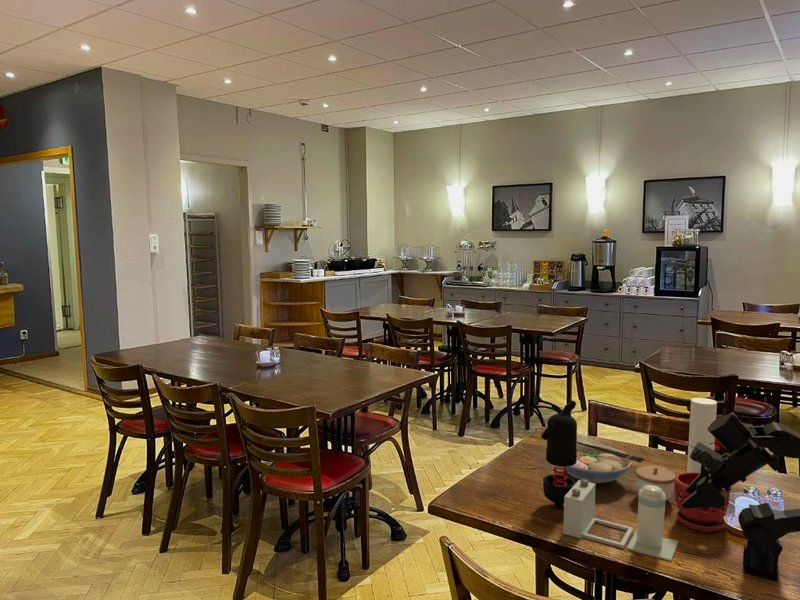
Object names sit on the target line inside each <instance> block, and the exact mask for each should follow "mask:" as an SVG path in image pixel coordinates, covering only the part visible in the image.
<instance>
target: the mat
mask: <svg viewBox="0 0 800 600" xmlns="http://www.w3.org/2000/svg"><path fill="white" fill-rule="evenodd" d="M636 538H637V529H636V530H635V532H634V534H633V536H632V537H631V539H630V541H629V543H628V545H627V547H626V550H629V551H633V552H636V553H640V554H644V555H647V556H650V557H655V558H657V559H660V560H661V559H662V560H665V561H669V562H672V561H673V560H672V559H673V557H674V555H675V552H676V549H677V547H678V544H679V541H678V540H674V539H672V538H671V539H670V538H668V537H664V536H663V544H662V547H661V548H659V549H648V548H645V547H643V546H641V545H639V544H638V543H637V541H636Z"/></svg>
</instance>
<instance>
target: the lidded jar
mask: <svg viewBox="0 0 800 600" xmlns="http://www.w3.org/2000/svg"><path fill="white" fill-rule="evenodd" d="M676 475H677V474H676V473H674V472H673V471H672V470H670V469H668V468H666V467H660V466H654V465H643V466H639V467H637V468H636V469H635V484H636V489H637V490H638V491H637V492H639V490H640V489H641V488H643V486H645V485H653V486H657V487H659V488H661V489H662V491H663V492H664V493H665V494H666V501H668V500H669V499H670V498H671V497H672V495H674V482H675V476H676Z"/></svg>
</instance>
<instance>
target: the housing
mask: <svg viewBox="0 0 800 600" xmlns="http://www.w3.org/2000/svg"><path fill="white" fill-rule="evenodd" d="M596 485H597V484H594V483H590V482H588V480H585V479H582V480H579V479H577V481H576V484H575V485H574V486H573V487H572V488H571V490H570V491H569V492H568V493H567V494H566V495H565V496H564V504H563V535H568V536H571V537H575V538H577V539H581V538H584V539H587V540H591V541H595V542H597V543H602V544H605V545H608V546H613V547H616V548H620V549H623V550H624V549H625V547H626V545H627V544H628V542H629V540H630V537H631V536H632V535H633V533H634V528H635V527H631V526H629V525H624V524H621V523H617V522H612V521H609V520H605V519H602V518H596V517H595V511H596V509H595V508H596ZM595 524H599V525H604V526H606V527H611V528H615V529H619V530H621V531H622V530H623V531H626V532H625V534H624V536H623V538H622V540H621V541H620V542H619V541H615V540H612V539H609V538H604V537H600V536H598V535H594V534H591V533H589V532H590V531H591V530H592V528H593V527H594V525H595Z"/></svg>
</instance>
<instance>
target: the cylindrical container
mask: <svg viewBox="0 0 800 600" xmlns="http://www.w3.org/2000/svg"><path fill="white" fill-rule="evenodd" d="M717 408H718V401H716V400H714V399H710V398H705V397H693V398H691V399H690V412H689V413H690V414H689V433H688V447H687V448H688V449H687V467H686V470H687V471H686V473H687V472H696V473H701V464H700V463H698V462H697V461H693V460H692V459H691V458H690V455H691V452H692V450H693V449H694V447H695V446H696V444H697V443H698V442H700V443H702V444H704V445H705V446H707V447H709V448H711V449H712V450H714V451H715V443H716V441H715V440H716V438H715V437H714V436H713V435H712V434H711V433H710V432H709V431H708V427H709V426H710V424H711V423H712V422H713V421H714V420H716V419H717Z"/></svg>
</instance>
